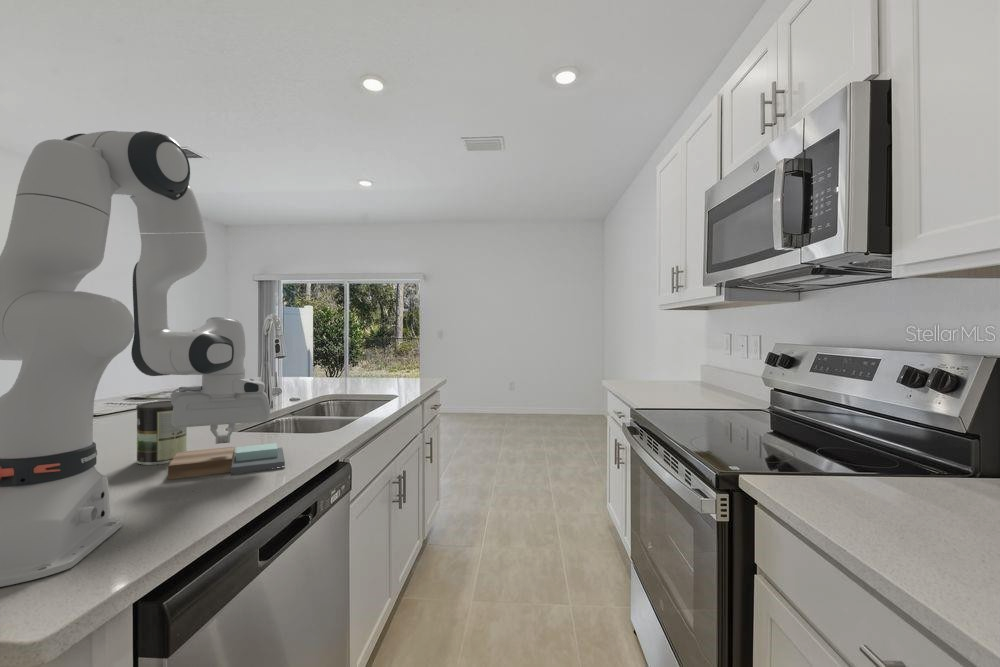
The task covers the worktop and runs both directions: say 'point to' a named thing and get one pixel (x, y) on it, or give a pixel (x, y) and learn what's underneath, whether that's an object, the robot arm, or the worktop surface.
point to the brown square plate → (201, 462)
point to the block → (256, 452)
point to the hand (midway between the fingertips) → (223, 442)
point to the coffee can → (158, 434)
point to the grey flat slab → (257, 463)
